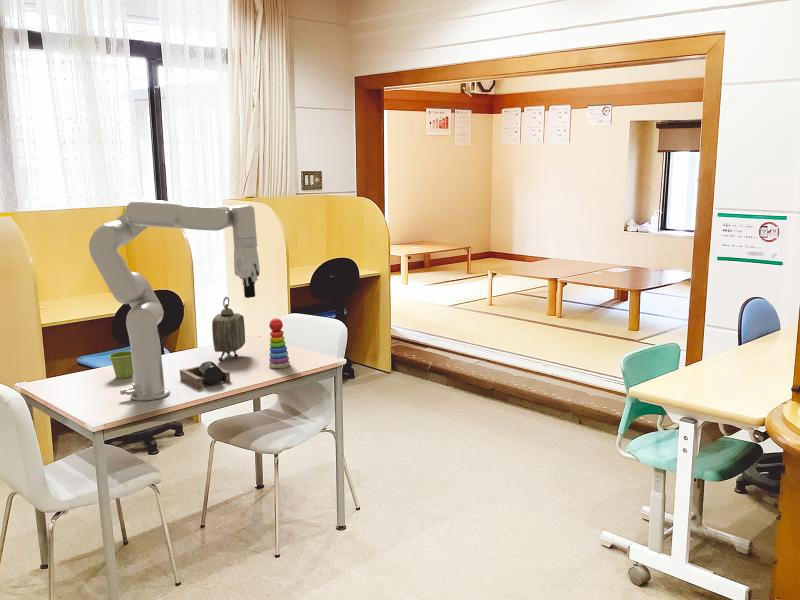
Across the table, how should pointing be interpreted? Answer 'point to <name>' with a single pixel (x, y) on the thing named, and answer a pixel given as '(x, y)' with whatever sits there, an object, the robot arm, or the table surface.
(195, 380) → the u rest
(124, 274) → the robot arm
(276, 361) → the stacking toy
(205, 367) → the supplement bottle
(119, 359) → the plant pot
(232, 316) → the tabletop clock
